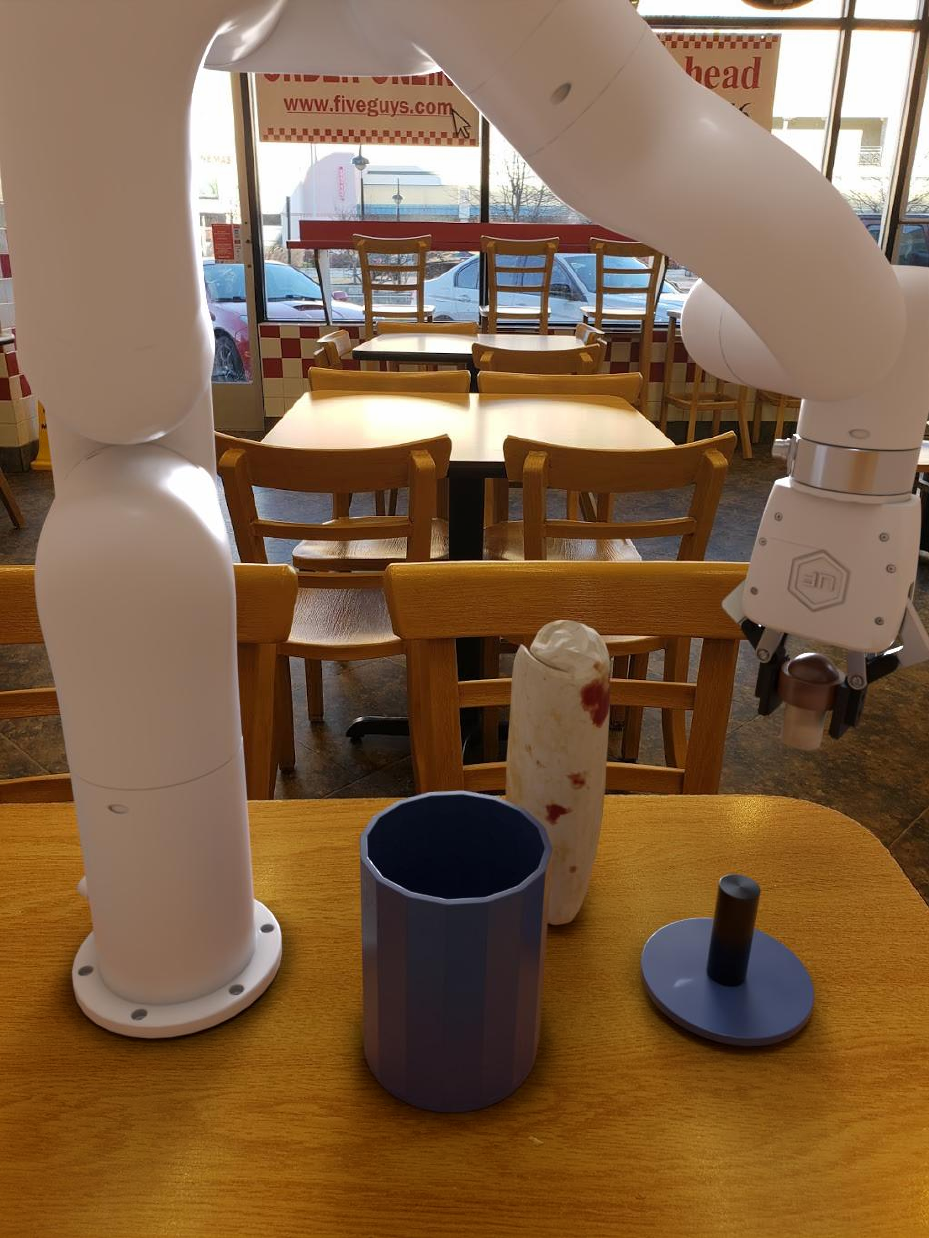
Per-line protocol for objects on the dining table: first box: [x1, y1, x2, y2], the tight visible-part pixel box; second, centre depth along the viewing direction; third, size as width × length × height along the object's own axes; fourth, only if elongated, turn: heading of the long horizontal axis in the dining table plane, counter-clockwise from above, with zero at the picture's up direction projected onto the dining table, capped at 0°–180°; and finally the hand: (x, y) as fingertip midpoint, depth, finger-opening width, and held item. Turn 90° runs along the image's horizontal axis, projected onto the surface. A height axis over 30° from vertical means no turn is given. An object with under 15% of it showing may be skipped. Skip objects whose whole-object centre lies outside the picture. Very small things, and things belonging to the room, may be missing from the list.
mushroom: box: [776, 652, 847, 751], centre depth 67 cm, size 4×4×7 cm
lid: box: [639, 873, 815, 1047], centre depth 57 cm, size 10×10×8 cm
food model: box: [505, 619, 611, 926], centre depth 63 cm, size 10×7×20 cm
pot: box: [359, 790, 553, 1114], centre depth 52 cm, size 10×10×14 cm
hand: (804, 718), depth 67 cm, fingers closed on mushroom, 4 cm apart
